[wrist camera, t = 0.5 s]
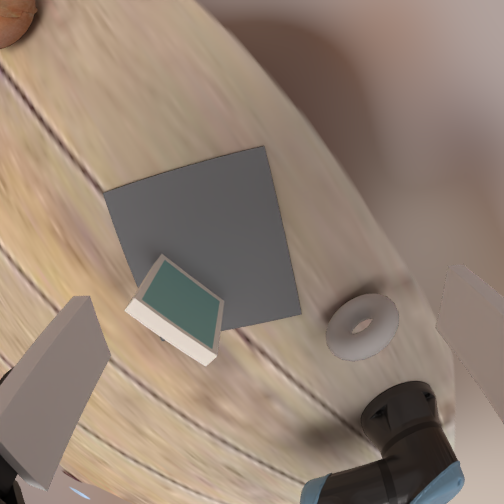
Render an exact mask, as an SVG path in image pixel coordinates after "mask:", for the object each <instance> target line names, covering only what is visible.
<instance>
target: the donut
mask: <svg viewBox="0 0 504 504" xmlns="http://www.w3.org/2000/svg"><path fill="white" fill-rule="evenodd" d="M367 319H372V322H371V323H370V325H369V326H368V327H367V328H365V329H364V330H363V331H361V332H359V333H356V334H352V331H353V329H354V328H355V327H356V326H357V325H358V324H359V323H360V322H362V321H364V320H367ZM398 324H399V313H398V310H397V308H396V305H395V303H394V302H393V301H392V300H390V299H389V298H388V297H387V296H384V295H381V294H377V293H375V294H364V295H361V296H357V297H355V298H353V299H352V300H350V301H348V302H347V303H345V304H344V305H343V306H341V307H340V308H339V309H338V310H337V312H336V313H335V314H334V315H333V317H332V318H331V320H330V322H329V324H328V327H327V331H326V342H327V346H328V347H329V349H330V351H331V352H332V354H334V355H335V356H337V357H339V358H340V359H342V360H348V361H359V360H364V359H367V358H369V357H371V356H373V355H376V354H377V353H378V352H380V351H381V350H382V349H384V348H385V347H386V346H387V345H388V344H389V342H390V341H391V340H392V338H393V337H394V335H395V333H396V330H397V328H398Z"/></svg>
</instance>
